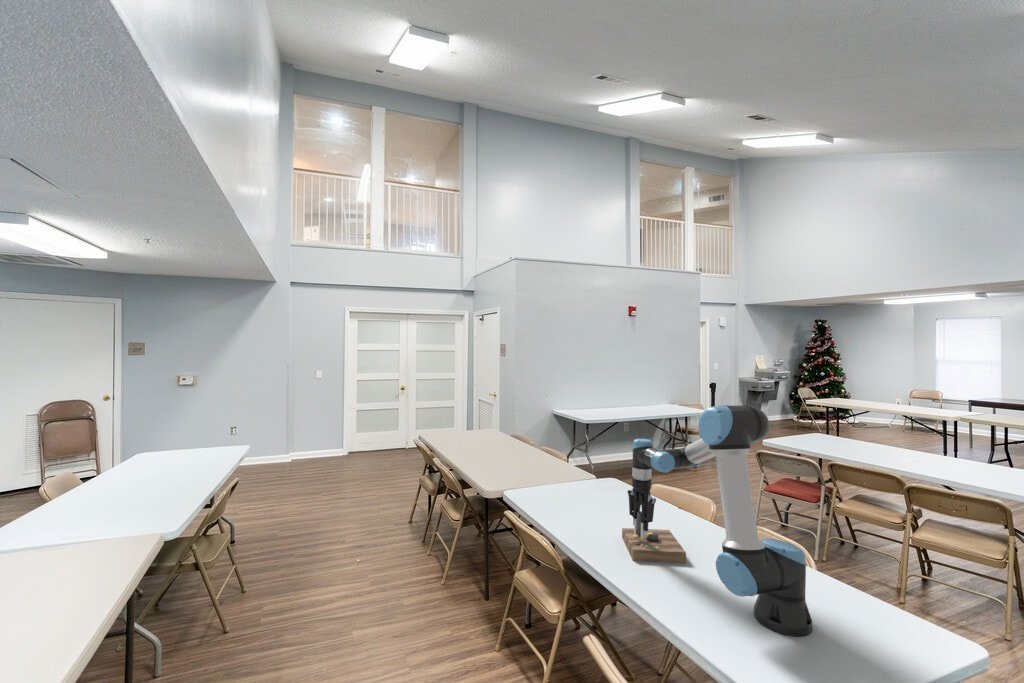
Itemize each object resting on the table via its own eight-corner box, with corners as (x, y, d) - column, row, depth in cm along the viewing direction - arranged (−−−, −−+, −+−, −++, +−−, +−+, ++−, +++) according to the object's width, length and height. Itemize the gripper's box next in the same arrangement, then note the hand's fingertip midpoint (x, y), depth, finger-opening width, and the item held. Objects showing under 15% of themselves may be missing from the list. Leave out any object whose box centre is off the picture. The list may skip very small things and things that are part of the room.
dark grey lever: (661, 540, 184) (661, 512, 184) (636, 544, 179) (637, 515, 180) (652, 535, 189) (653, 508, 189) (629, 539, 184) (629, 511, 184)
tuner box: (685, 562, 174) (685, 551, 174) (632, 560, 175) (632, 549, 175) (669, 539, 196) (669, 529, 196) (621, 537, 197) (622, 527, 197)
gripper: (663, 482, 178) (662, 542, 178) (634, 471, 192) (632, 527, 192) (650, 484, 175) (648, 546, 174) (620, 474, 188) (619, 531, 188)
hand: (640, 536), depth 183 cm, fingers open, 3 cm apart
